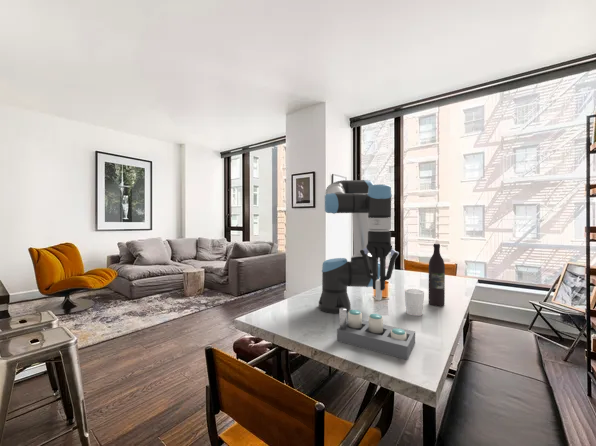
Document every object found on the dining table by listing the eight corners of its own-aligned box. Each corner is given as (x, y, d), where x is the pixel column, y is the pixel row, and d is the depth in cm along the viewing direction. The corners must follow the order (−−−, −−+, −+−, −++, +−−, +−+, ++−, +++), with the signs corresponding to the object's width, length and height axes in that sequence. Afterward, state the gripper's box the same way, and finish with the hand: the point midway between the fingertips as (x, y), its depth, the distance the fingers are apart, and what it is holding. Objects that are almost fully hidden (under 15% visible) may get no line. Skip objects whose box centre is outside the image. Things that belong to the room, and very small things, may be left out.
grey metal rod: (338, 329, 92) (338, 309, 92) (341, 326, 94) (341, 307, 94) (344, 330, 91) (344, 310, 91) (347, 328, 93) (347, 308, 93)
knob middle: (366, 331, 90) (366, 316, 90) (371, 326, 95) (371, 312, 94) (380, 334, 88) (380, 319, 88) (384, 329, 92) (384, 315, 92)
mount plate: (337, 340, 92) (337, 329, 92) (351, 327, 103) (351, 317, 103) (407, 359, 79) (407, 346, 79) (415, 343, 90) (415, 331, 90)
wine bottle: (429, 305, 129) (429, 244, 128) (427, 301, 135) (428, 243, 135) (445, 307, 126) (446, 244, 126) (443, 303, 133) (443, 243, 133)
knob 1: (346, 326, 95) (346, 312, 95) (351, 321, 99) (351, 308, 99) (359, 329, 92) (359, 315, 92) (363, 324, 96) (363, 311, 96)
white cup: (425, 317, 114) (426, 294, 114) (406, 315, 116) (406, 293, 116) (421, 310, 122) (421, 289, 122) (403, 309, 124) (403, 288, 123)
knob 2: (389, 347, 86) (389, 331, 86) (392, 341, 90) (392, 326, 90) (404, 351, 84) (404, 335, 84) (407, 345, 88) (407, 330, 88)
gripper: (356, 230, 91) (356, 298, 91) (396, 231, 84) (396, 305, 84) (364, 229, 97) (363, 293, 98) (401, 230, 90) (401, 299, 91)
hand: (378, 298), depth 91 cm, fingers closed
